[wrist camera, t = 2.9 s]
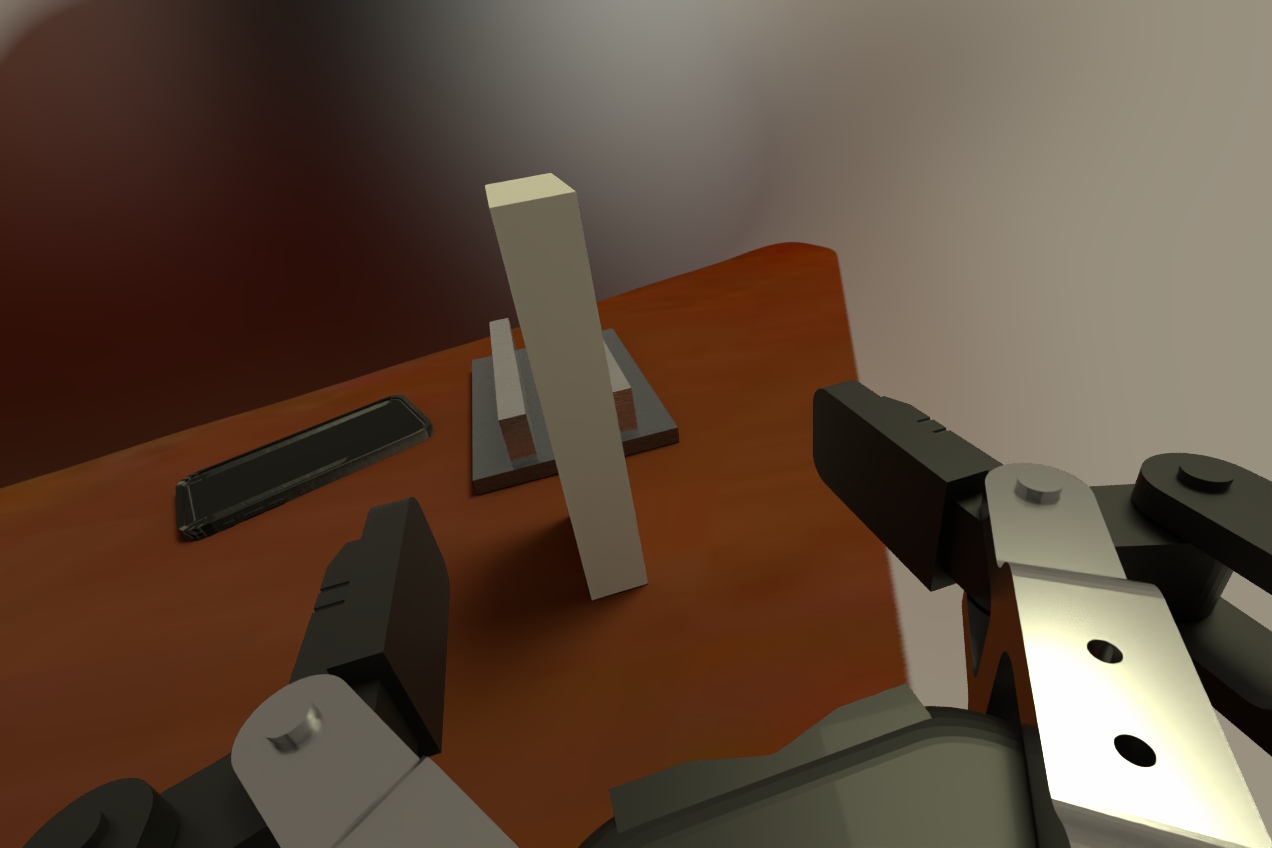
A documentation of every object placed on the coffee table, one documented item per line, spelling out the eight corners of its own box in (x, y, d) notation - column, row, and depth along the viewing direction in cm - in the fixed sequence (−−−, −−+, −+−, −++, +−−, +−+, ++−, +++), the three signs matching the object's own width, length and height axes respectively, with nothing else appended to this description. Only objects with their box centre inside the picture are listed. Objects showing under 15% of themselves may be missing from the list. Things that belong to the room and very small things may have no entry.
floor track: (477, 494, 32) (456, 435, 30) (475, 371, 47) (461, 326, 45) (679, 441, 34) (672, 381, 32) (614, 339, 49) (606, 294, 47)
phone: (175, 480, 37) (399, 391, 44) (184, 493, 37) (404, 404, 44) (178, 537, 31) (435, 425, 38) (189, 552, 32) (441, 439, 39)
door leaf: (591, 600, 24) (489, 208, 16) (570, 515, 29) (485, 185, 21) (652, 582, 24) (582, 190, 16) (621, 501, 30) (555, 171, 21)
